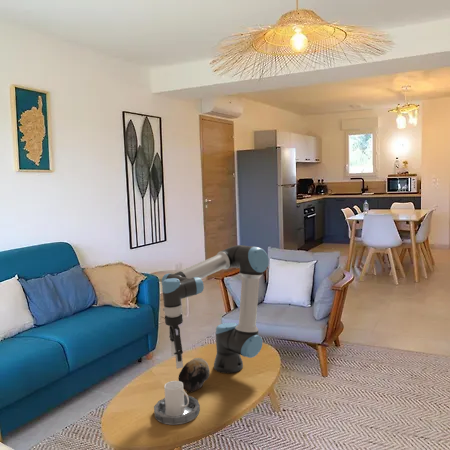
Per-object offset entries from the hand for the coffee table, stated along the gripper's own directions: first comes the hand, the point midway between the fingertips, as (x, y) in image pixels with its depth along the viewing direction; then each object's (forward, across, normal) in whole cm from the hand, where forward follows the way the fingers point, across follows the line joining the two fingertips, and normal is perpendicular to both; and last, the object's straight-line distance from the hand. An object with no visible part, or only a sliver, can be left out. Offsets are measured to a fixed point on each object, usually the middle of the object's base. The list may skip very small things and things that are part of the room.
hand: (177, 361), depth 202 cm
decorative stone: (+21, -12, +9) cm, 26 cm away
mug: (+20, +7, -2) cm, 21 cm away
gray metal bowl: (+20, +6, -3) cm, 21 cm away
